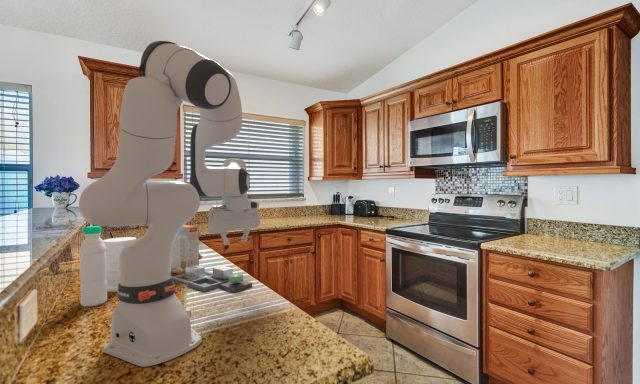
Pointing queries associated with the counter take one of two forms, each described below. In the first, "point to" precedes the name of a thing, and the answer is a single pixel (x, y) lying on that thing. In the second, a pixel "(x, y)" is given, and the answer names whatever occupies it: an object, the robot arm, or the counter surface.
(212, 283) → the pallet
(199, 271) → the billet
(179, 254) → the cracker box
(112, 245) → the decorative container
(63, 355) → the counter surface
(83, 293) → the water bottle
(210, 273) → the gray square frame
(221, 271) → the block
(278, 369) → the counter surface
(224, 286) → the console
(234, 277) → the button
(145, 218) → the robot arm
